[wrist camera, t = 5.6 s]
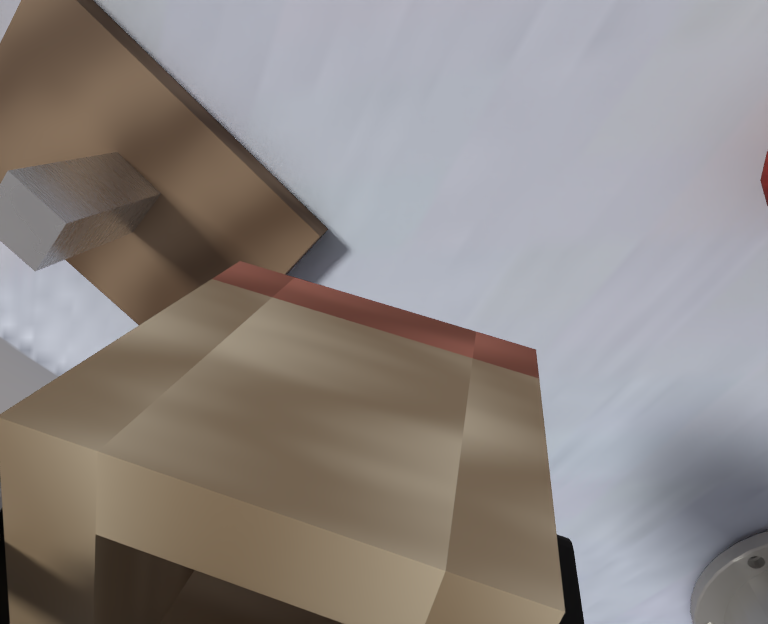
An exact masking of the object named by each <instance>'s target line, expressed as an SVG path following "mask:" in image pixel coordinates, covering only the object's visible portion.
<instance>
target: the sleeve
mask: <svg viewBox="0 0 768 624" xmlns="http://www.w3.org/2000/svg"><path fill="white" fill-rule="evenodd" d="M0 478H1V493H2V509H3V524H4V539H5V555H6V570H7V585H8V601H9V616H10V624H559V623H560V621H561V619H562V617H563V615H564V613H565V606H564V597H563V588H562V579H561V570H560V561H559V552H558V543H557V534H556V525H555V516H554V507H553V498H552V489H551V481H550V472H549V463H548V454H547V445H546V436H545V427H544V418H543V409H542V400H541V391H540V382H539V373H538V364H537V355H536V349H532V348H529V347H526V346H522V345H519V344H516V343H512V342H509V341H505V340H502V339H499V338H495V337H492V336H489V335H485V334H482V333H479V332H475V331H472V330H469V329H465V328H462V327H459V326H455V325H452V324H449V323H445V322H442V321H439V320H435V319H432V318H429V317H425V316H422V315H419V314H415V313H412V312H409V311H405V310H402V309H399V308H395V307H392V306H389V305H385V304H382V303H379V302H375V301H372V300H369V299H365V298H362V297H359V296H355V295H352V294H349V293H345V292H342V291H339V290H335V289H332V288H329V287H325V286H322V285H318V284H315V283H312V282H308V281H305V280H302V279H298V278H295V277H292V276H288V275H285V274H282V273H278V272H275V271H272V270H268V269H265V268H262V267H258V266H255V265H252V264H248V263H245V262H242V261H239V262H238V263H236V264H234V265H233V266H231V267H230V268H228V269H227V270H225V271H224V272H222V273H220V274H219V275H217V276H216V277H214V278H213V279H211V280H209V281H208V282H206V283H205V284H203V285H202V286H200V287H199V288H197V289H195V290H194V291H192V292H191V293H189V294H188V295H186V296H184V297H183V298H181V299H180V300H178V301H177V302H175V303H173V304H172V305H170V306H169V307H167V308H166V309H164V310H163V311H161V312H159V313H158V314H156V315H155V316H153V317H152V318H150V319H148V320H147V321H145V322H144V323H142V324H141V325H139V326H138V327H136V328H134V329H133V330H131V331H130V332H128V333H127V334H125V335H123V336H122V337H120V338H119V339H117V340H116V341H114V342H112V343H111V344H109V345H108V346H106V347H105V348H103V349H102V350H100V351H98V352H97V353H95V354H94V355H92V356H91V357H89V358H87V359H86V360H84V361H83V362H81V363H80V364H78V365H77V366H75V367H73V368H72V369H70V370H69V371H67V372H66V373H64V374H62V375H61V376H59V377H58V378H56V379H55V380H53V381H51V382H50V383H49V384H47V385H45V386H44V387H42V388H41V389H39V390H37V391H36V392H34V393H33V394H31V395H30V396H28V397H26V398H25V399H23V400H22V401H20V402H19V403H17V404H15V405H14V406H13V407H11V408H9V409H8V410H6V411H5V412H3V413H2V414H0Z"/></svg>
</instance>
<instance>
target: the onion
mask: <svg viewBox="0 0 768 624" xmlns="http://www.w3.org/2000/svg"><path fill="white" fill-rule="evenodd" d="M761 184H762V188H763V191H764V195H765V199H766V202H767V206H768V151H767V154H766V159H765V163H764V167H763V172H762V176H761Z"/></svg>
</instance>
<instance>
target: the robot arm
mask: <svg viewBox="0 0 768 624" xmlns="http://www.w3.org/2000/svg"><path fill="white" fill-rule="evenodd" d="M557 543H558V552H559V561H560V570H561V579H562V588H563V597H564V606H565V613H564V615H563V617H562V619H561V621H560V623H559V624H584V619H583V612H582V605H581V598H580V591H579V584H578V577H577V570H576V563H575V556H574V550H573V545H572V542H571V541H570V539H569V538H566V537H563V536H560V535H557ZM690 613H691V617H692V622H693V624H768V531H766V532H763V533H759V534H756V535H754V536H752V537H749V538H747V539H745V540H743V541H741V542H738V543H736V544H735V545H733V546H732V547H730V548H729V549H727V550H726V551H724V552H723V553H721V554H720V555H718V556H717V557H716V558H715V559H714V560H713V561H712V562H711V563H710V564H709V565H708V566H707V567H706V568H705V569H704V571H703V572H702V574H701V575H700V577H699V579H698V580H697V582H696V584H695V587H694V590H693V593H692V596H691V607H690ZM0 624H10V616H9V601H8V585H7V570H6V555H5V539H4V524H3V509H2V493H1V478H0Z"/></svg>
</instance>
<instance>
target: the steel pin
mask: <svg viewBox="0 0 768 624" xmlns="http://www.w3.org/2000/svg"><path fill="white" fill-rule="evenodd" d="M160 195H161V193H160V192H159V191H158V190H157V189H156V188H155V187H154V186H153V185H152V184H151V183H150V182H149V181H148V180H147V179H145V178H144V177H143V176H142V175H141V174H140V173H139V172H138V171H137V170H136V169H135V168H134V167H133V166H132V165H130V164H129V163H128V162H127V161H126V160H125V159H124V158H123V157H122V156H121V155H120V154H119V153H118V152H113V153H107V154H102V155H96V156H90V157H84V158H78V159H73V160H67V161H61V162H55V163H49V164H43V165H38V166H32V167H26V168H20V169H14V170H9V171H7V173H6V175H5V176H4V178H3V180H2V182H1V184H0V241H1V242H2V243H3V244H5V245H6V246H7V247H8V248H9V249H10V250H11V251H13V252H14V253H15V254H16V255H17V256H18V257H19V258H21V259H22V260H23V261H24V262H25V263H26V264H27V265H29V266H30V267H31V268H32V269H33V270H34V271H37V270H40V269H42V268H45V267H48V266H50V265H53V264H55V263H58V262H60V261H63V260H65V259H68V258H70V257H73V256H75V255H78V254H80V253H83V252H85V251H88V250H90V249H93V248H95V247H98V246H100V245H103V244H105V243H108V242H110V241H113V240H115V239H118V238H120V237H123V236H125V235H128V234H130V233H133V232H134V230H135V229H136V228H137V226H138V225H139V224H140V222H141V221H142V219H143V218H144V217H145V215H146V214H147V213H148V211H149V210H150V208H151V207H152V206H153V204H154V203H155V202H156V200H157V199H158V197H159V196H160Z"/></svg>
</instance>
